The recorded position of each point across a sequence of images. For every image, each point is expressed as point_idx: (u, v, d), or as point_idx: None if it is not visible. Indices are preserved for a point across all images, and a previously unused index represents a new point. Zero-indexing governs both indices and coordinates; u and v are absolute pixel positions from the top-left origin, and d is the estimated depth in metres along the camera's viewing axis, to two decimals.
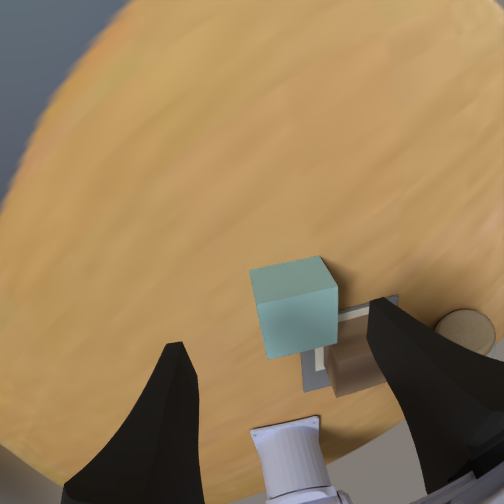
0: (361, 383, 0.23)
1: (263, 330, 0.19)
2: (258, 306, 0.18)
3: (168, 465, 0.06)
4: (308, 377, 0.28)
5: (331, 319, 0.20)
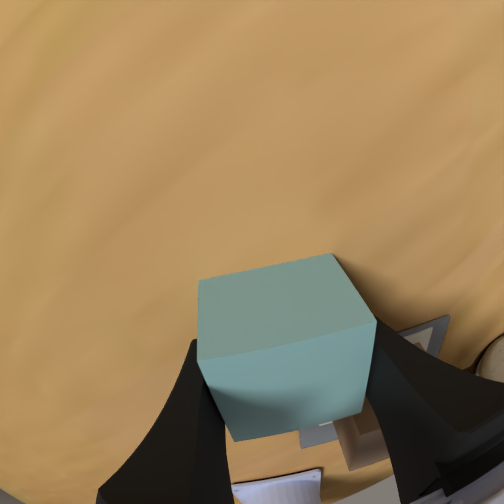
0: None
1: (219, 404, 0.09)
2: (201, 365, 0.08)
3: (206, 463, 0.06)
4: (308, 433, 0.18)
5: (356, 380, 0.09)
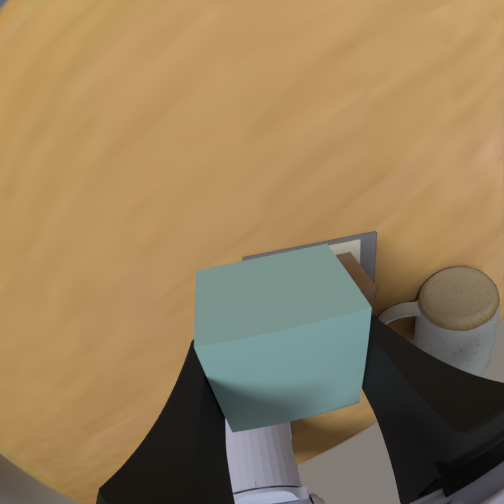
0: None
1: (216, 392, 0.09)
2: (198, 351, 0.08)
3: (206, 463, 0.06)
4: None
5: (352, 368, 0.09)
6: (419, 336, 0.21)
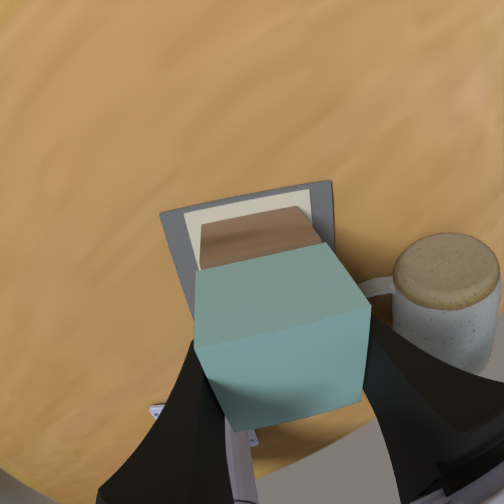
0: None
1: (217, 392, 0.09)
2: (198, 352, 0.08)
3: (205, 463, 0.06)
4: None
5: (353, 367, 0.09)
6: (396, 321, 0.17)
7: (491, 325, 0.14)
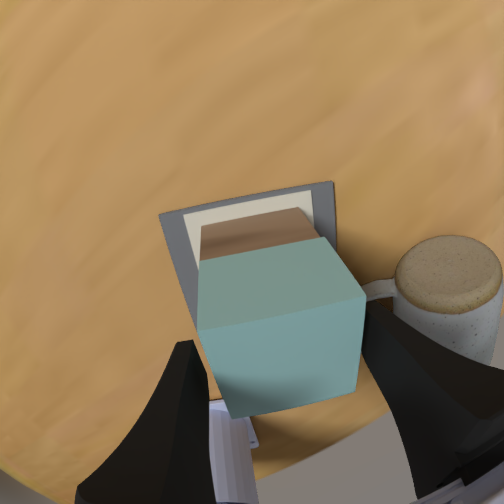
0: None
1: (217, 377, 0.10)
2: (201, 335, 0.09)
3: (183, 464, 0.06)
4: None
5: (348, 356, 0.10)
6: None
7: (493, 329, 0.13)
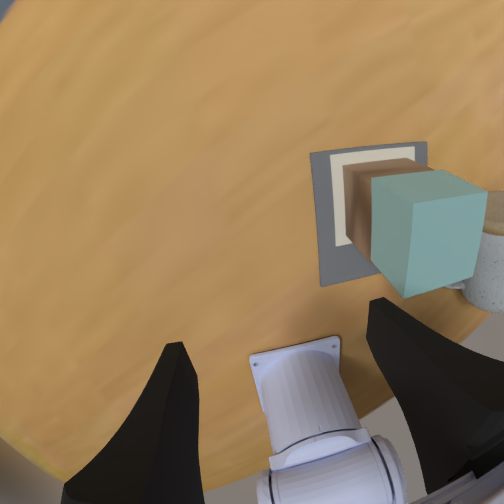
0: None
1: (411, 248, 0.13)
2: (414, 207, 0.12)
3: (168, 465, 0.06)
4: (327, 259, 0.22)
5: (475, 239, 0.13)
6: None
7: None
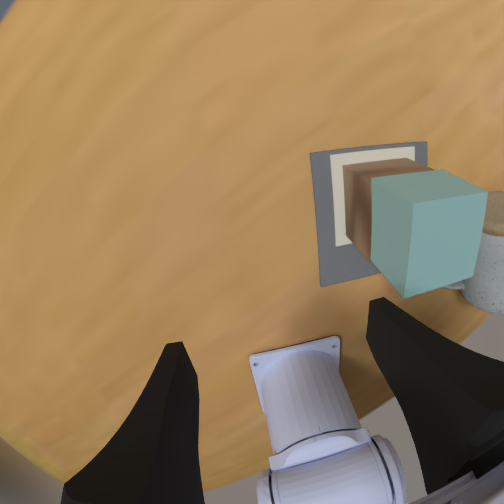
0: None
1: (411, 248, 0.13)
2: (414, 207, 0.12)
3: (168, 465, 0.06)
4: (327, 259, 0.22)
5: (475, 239, 0.13)
6: None
7: None
